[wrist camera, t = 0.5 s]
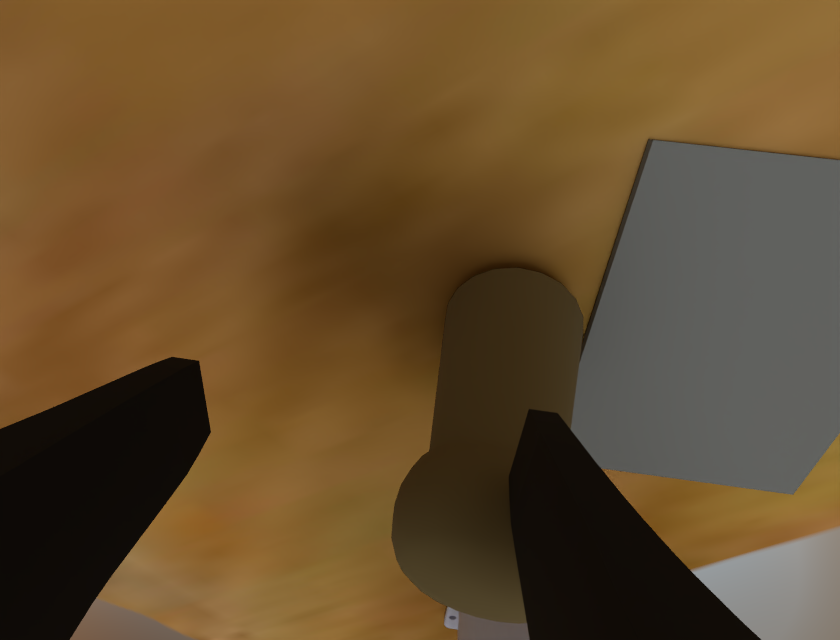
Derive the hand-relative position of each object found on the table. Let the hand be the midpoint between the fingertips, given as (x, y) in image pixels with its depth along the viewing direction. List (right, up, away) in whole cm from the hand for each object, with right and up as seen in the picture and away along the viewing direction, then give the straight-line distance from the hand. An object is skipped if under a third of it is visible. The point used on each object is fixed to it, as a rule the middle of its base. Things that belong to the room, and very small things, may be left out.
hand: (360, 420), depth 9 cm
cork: (+5, +2, +9) cm, 11 cm away
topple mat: (+15, +1, +10) cm, 18 cm away
